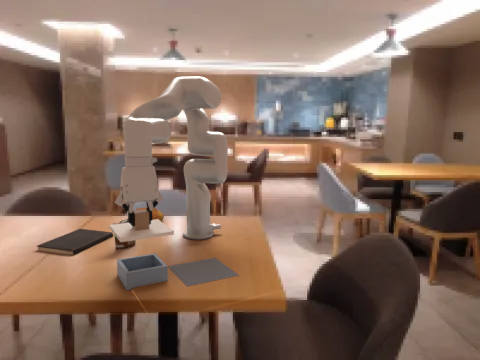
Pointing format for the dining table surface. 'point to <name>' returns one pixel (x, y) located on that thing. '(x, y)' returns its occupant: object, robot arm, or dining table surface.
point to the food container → (127, 243)
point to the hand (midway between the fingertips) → (140, 223)
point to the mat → (202, 271)
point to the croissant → (155, 214)
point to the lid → (140, 228)
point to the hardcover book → (75, 241)
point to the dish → (141, 270)
